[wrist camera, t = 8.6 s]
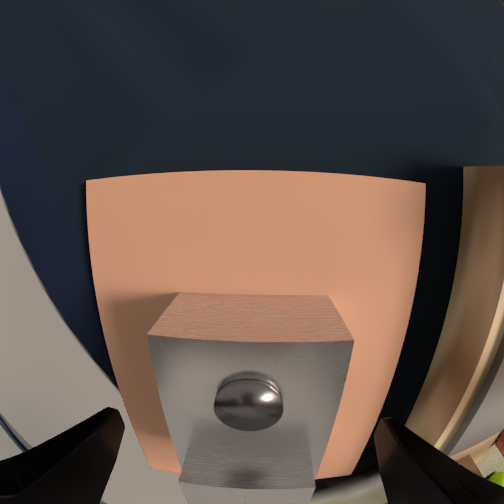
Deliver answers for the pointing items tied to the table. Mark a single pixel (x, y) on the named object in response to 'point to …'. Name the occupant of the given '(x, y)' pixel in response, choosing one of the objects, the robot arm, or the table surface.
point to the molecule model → (497, 478)
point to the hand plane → (470, 333)
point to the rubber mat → (256, 273)
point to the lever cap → (250, 392)
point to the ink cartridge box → (501, 443)
